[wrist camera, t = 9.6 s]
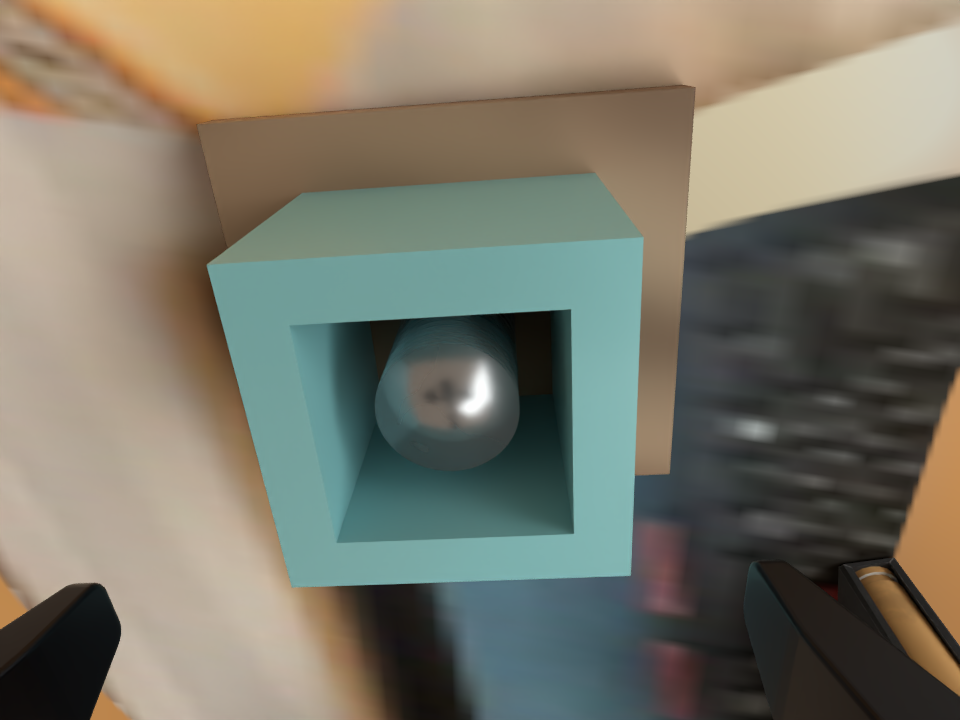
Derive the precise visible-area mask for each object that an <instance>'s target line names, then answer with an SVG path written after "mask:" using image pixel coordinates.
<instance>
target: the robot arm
mask: <svg viewBox="0 0 960 720" xmlns="http://www.w3.org/2000/svg"><path fill="white" fill-rule="evenodd" d="M744 617H745V623H746V626H747V630H748V633H749V637H750V640H751V644H752V647H753V651H754V654H755V658H756V661H757V665H758V668H759V672H760V675H761V679H762V682H763V686H764V689H765V693H766V696H767V700H768V703H769V707H770V710H771V714H772V717H773V720H960V696H958V695H957V694H956V693H955V692H953V691H952V690H951V689H949V688H948V687H947V686H946V685H944V684H943V683H942V682H941V681H939V680H938V679H937V678H935V677H934V676H933V675H932V674H930V673H929V672H928V671H926V670H925V669H924V668H923V667H921V666H920V665H919V664H917V663H916V662H915V661H914V660H912V659H911V658H910V657H908V656H907V655H906V654H905V653H903V652H902V651H901V650H899V649H898V648H897V647H896V646H894V645H893V644H892V643H890V642H889V641H888V640H887V639H885V638H884V637H883V636H881V635H880V634H879V633H878V632H876V631H875V630H874V629H872V628H871V627H870V626H869V625H867V624H866V623H865V622H863V621H862V620H861V619H860V618H858V617H857V616H856V615H854V614H853V613H852V612H851V611H849V610H848V609H847V608H845V607H844V606H843V605H842V604H840V603H839V602H838V601H836V600H835V599H834V598H833V597H831V596H830V595H829V594H827V593H826V592H825V591H824V590H822V589H821V588H820V587H819V586H817V585H816V584H815V583H813V582H812V581H811V580H810V579H808V578H807V577H806V576H804V575H803V574H802V573H801V572H799V571H798V570H797V569H795V568H794V567H793V566H792V565H790V564H789V563H787V562H786V561H783V560H779V559H777V560H756V561H753V562H752V563H751V565H750V567H749V572H748V579H747V586H746V592H745V599H744ZM120 637H121V624H120V621H119V619H118V616H117V614H116V612H115V609H114V607H113V605H112V602H111V600H110V598H109V596H108V593H107V591H106V589H105V587H103V586H102V585H101V584H98V583H78V584H71V585H68V586H66V587H64V588H63V589H61V590H60V591H58V592H57V593H55V594H54V595H52V596H51V597H49V598H48V599H46V600H45V601H43V602H42V603H40V604H38V605H37V606H35V607H34V608H32V609H31V610H29V611H28V612H26V613H25V614H23V615H22V616H20V617H19V618H17V619H16V620H14V621H13V622H11V623H10V624H8V625H6V626H5V627H3V628H2V629H0V720H90V718H91V716H92V713H93V710H94V707H95V705H96V702H97V700H98V697H99V694H100V692H101V689H102V687H103V684H104V681H105V679H106V676H107V673H108V671H109V668H110V666H111V663H112V660H113V658H114V655H115V652H116V650H117V647H118V644H119V641H120Z"/></svg>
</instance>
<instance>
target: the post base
mask: <svg viewBox="0 0 960 720" xmlns="http://www.w3.org/2000/svg"><path fill="white" fill-rule="evenodd" d="M695 88H696V87H691V86H687V85H678V86H665V87H652V88H638V89H625V90H611V91H598V92H585V93H571V94H558V95H544V96H531V97H518V98H504V99H491V100H477V101H464V102H451V103H437V104H424V105H411V106H397V107H384V108H370V109H357V110H344V111H330V112H317V113H303V114H290V115H277V116H263V117H250V118H236V119H223V120H212V121H208V122H204V123H200V124H197V129H198V133H199V137H200V141H201V145H202V149H203V153H204V157H205V161H206V165H207V169H208V173H209V177H210V181H211V185H212V190H213V194H214V198H215V202H216V206H217V210H218V214H219V218H220V222H221V226H222V230H223V234H224V238H225V242H226V246H227V249H228V248H230V247H231V246H232V245H234V244H235V243H236V242H238V241H239V240H240V239H242V238H243V237H244V236H246V235H247V234H248V233H249V232H251V231H252V230H253V229H255V228H256V227H257V226H259V225H260V224H261V223H263V222H264V221H265V220H267V219H268V218H269V217H271V216H272V215H273V214H275V213H276V212H277V211H279V210H280V209H281V208H283V207H284V206H285V205H287V204H288V203H289V202H291V201H292V200H293V199H295V198H296V197H297V196H299V195H300V194H301V193H309V192H323V191H338V190H352V189H367V188H381V187H396V186H410V185H425V184H440V183H454V182H469V181H483V180H498V179H512V178H527V177H541V176H556V175H570V174H585V173H596V175H597V176H598V177H599V179H600V180H601V181H602V183H603V184H604V185H605V187H606V188H607V189H608V191H609V192H610V193H611V195H612V196H613V197H614V198H615V200H616V201H617V202H618V204H619V205H620V206H621V208H622V209H623V210H624V212H625V213H626V214H627V216H628V217H629V218H630V220H631V221H632V222H633V224H634V225H635V226H636V228H637V229H638V230H639V232H640V233H641V234H642V236H643V237H644V240H643V266H642V293H641V319H640V345H639V372H638V398H637V424H636V451H635V475H655V474H670V459H671V444H672V429H673V414H674V399H675V384H676V370H677V355H678V340H679V325H680V310H681V295H682V281H683V266H684V251H685V236H686V221H687V206H688V191H689V175H690V161H691V146H692V132H693V117H694V102H695ZM369 322H370V328H371V334H372V341H373V347H374V353H375V360H376V366H377V372H378V379H379V385H378V388H377V392H376V396H375V416H376V420H377V424H378V426H379V429H380V431H381V433H382V434H383V436H384V438H385V439H386V441H387V442H388V443H389V445H390V446H391V447H392V448H393V449H394V450H395V451H396V452H398V453H399V454H400V455H401V456H403V457H404V458H406V459H407V460H409V461H411V462H413V463H415V464H417V465H420V466H423V467H425V468H429V469H434V470H440V471H460V470H466V469H471V468H474V467H477V466H480V465H482V464H484V463H486V462H488V461H490V460H491V459H493V458H494V457H496V456H497V455H498V454H499V453H501V452H502V451H503V450H504V448H505V447H506V446H507V445H508V444H509V442H510V441H511V439H512V438H513V436H514V434H515V432H516V429H517V426H518V421H519V415H520V405H519V396H525V395H545V394H553V392H552V355H551V318H550V311H532V312H515V313H498V314H480V315H463V316H445V317H428V318H410V319H393V320H375V321H369Z"/></svg>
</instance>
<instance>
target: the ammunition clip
mask: <svg viewBox="0 0 960 720" xmlns="http://www.w3.org/2000/svg"><path fill="white" fill-rule="evenodd" d="M837 601H838V602H839V603H840V604H842V605H843V606H844V607H845V608H847V609H848V610H849V611H851V612H852V613H853V614H854V615H856V616H857V617H858V618H860V619H861V620H862V621H863V622H865V623H866V624H867V625H869V626H870V627H871V628H872V629H874V630H875V631H876V632H878V633H879V634H880V635H881V636H883V637H884V638H885V639H887V640H888V641H889V642H890V643H892V644H893V645H894V646H896V647H897V648H898V649H899V650H901V651H902V652H903V653H905V654H906V655H907V656H908V657H910V658H911V659H912V660H914V661H915V662H916V663H917V664H919V665H920V666H921V667H923V668H924V669H925V670H926V671H928V672H929V673H930V674H932V675H933V676H934V677H935V678H937V679H938V680H939V681H941V682H942V683H943V684H944V685H946V686H947V687H948V688H949V689H951V690H952V691H953V692H955V693H956V694H957V695H958V696H960V646H959V644H958V643H957V642H956V640H955V639H954V638H953V636H952V635H951V634H950V632H949V631H948V630H947V628H946V627H945V626H944V624H943V623H942V621H941V620H940V619H939V617H938V616H937V615H936V613H935V612H934V611H933V609H932V608H931V607H930V605H929V604H928V603H927V601H926V600H925V599H924V597H923V596H922V595H921V593H920V592H919V591H918V589H917V588H916V587H915V585H914V584H913V582H912V581H911V580H910V578H909V577H908V576H907V574H906V573H905V572H904V570H903V569H902V567H901V566H900V565H899V563H898V562H897V561H896V559H895V558H887V559H880V560H872V561H865V562H857V563H850V564H843V565H842V566H839V568H838V600H837Z"/></svg>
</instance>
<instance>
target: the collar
mask: <svg viewBox="0 0 960 720" xmlns="http://www.w3.org/2000/svg"><path fill="white" fill-rule="evenodd" d="M643 240H644V237H643V236H642V234H641V233H640V232H639V230H638V229H637V228H636V226H635V225H634V224H633V222H632V221H631V220H630V218H629V217H628V216H627V214H626V213H625V212H624V210H623V209H622V208H621V206H620V205H619V204H618V202H617V201H616V200H615V198H614V197H613V196H612V195H611V193H610V192H609V191H608V189H607V188H606V187H605V185H604V184H603V183H602V181H601V180H600V179H599V177H598V176H597V175H596V173H585V174H570V175H556V176H541V177H527V178H512V179H498V180H483V181H469V182H454V183H440V184H425V185H410V186H396V187H381V188H367V189H352V190H338V191H323V192H309V193H301V194H300V195H299V196H297V197H296V198H295V199H293V200H292V201H291V202H289V203H288V204H287V205H285V206H284V207H283V208H281V209H280V210H279V211H277V212H276V213H275V214H273V215H272V216H271V217H269V218H268V219H267V220H265V221H264V222H263V223H261V224H260V225H259V226H257V227H256V228H255V229H253V230H252V231H251V232H249V233H248V234H247V235H246V236H244V237H243V238H242V239H240V240H239V241H238V242H236V243H235V244H234V245H232V246H231V247H230V248H228V249H227V250H226V251H224V252H223V253H222V254H220V255H219V256H218V257H216V258H215V259H214V260H212V261H211V262H210V263H208V264H207V269H208V272H209V276H210V280H211V284H212V287H213V291H214V295H215V299H216V303H217V306H218V310H219V314H220V318H221V321H222V325H223V329H224V333H225V337H226V340H227V344H228V348H229V352H230V355H231V359H232V363H233V367H234V371H235V374H236V378H237V382H238V386H239V389H240V393H241V397H242V401H243V405H244V408H245V412H246V416H247V420H248V423H249V427H250V431H251V435H252V438H253V442H254V446H255V450H256V454H257V457H258V461H259V465H260V469H261V472H262V476H263V480H264V484H265V488H266V491H267V495H268V499H269V503H270V506H271V510H272V514H273V518H274V522H275V525H276V529H277V533H278V537H279V540H280V544H281V548H282V552H283V556H284V559H285V563H286V567H287V571H288V574H289V578H290V582H291V586H292V587H319V586H348V585H377V584H406V583H435V582H464V581H493V580H522V579H551V578H580V577H609V576H631V556H632V530H633V503H634V477H635V451H636V424H637V398H638V372H639V345H640V319H641V293H642V266H643ZM532 311H550V318H551V355H552V392H553V394H545V395H525V396H519V405H520V415H519V421H518V426H517V429H516V432H515V434H514V436H513V438H512V439H511V441H510V442H509V444H508V445H507V446H506V447H505V448H504V450H503V451H502V452H501V453H499V454H498V455H497V456H496V457H494V458H493V459H491V460H490V461H488V462H486V463H484V464H482V465H480V466H477V467H474V468H471V469H466V470H460V471H440V470H434V469H429V468H425V467H423V466H420V465H417V464H415V463H413V462H411V461H409V460H407V459H406V458H404V457H403V456H401V455H400V454H399V453H398V452H396V451H395V450H394V449H393V448H392V447H391V446H390V445H389V443H388V442H387V441H386V439H385V438H384V436H383V434H382V433H381V431H380V429H379V426H378V424H377V420H376V416H375V396H376V392H377V388H378V385H379V379H378V372H377V366H376V360H375V353H374V347H373V341H372V334H371V328H370V322H369V321H375V320H393V319H410V318H428V317H445V316H463V315H480V314H498V313H515V312H532Z"/></svg>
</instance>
